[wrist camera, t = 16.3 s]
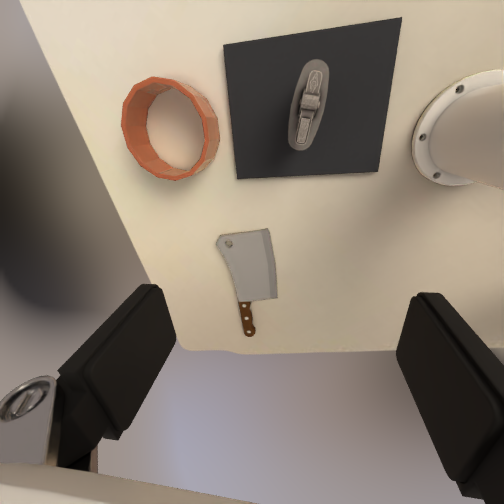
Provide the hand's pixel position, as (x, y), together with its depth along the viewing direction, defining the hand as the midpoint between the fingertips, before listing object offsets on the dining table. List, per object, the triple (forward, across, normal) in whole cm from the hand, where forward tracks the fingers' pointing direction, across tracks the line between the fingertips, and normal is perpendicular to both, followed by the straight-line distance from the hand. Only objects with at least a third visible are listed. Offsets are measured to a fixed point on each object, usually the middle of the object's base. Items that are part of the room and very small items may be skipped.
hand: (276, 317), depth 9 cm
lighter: (+30, -2, -8) cm, 31 cm away
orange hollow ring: (+30, +16, -7) cm, 35 cm away
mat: (+30, -2, -8) cm, 31 cm away
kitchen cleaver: (+31, +8, +21) cm, 38 cm away
